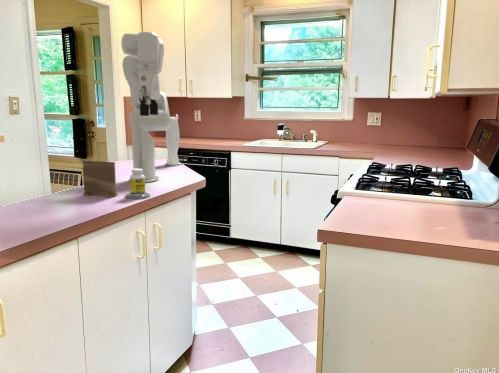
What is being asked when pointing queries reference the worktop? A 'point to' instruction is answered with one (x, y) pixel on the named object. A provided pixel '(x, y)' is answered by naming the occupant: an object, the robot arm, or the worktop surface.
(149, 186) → the worktop surface
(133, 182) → the supplement bottle
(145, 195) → the coaster
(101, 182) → the screen
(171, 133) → the skyscraper
